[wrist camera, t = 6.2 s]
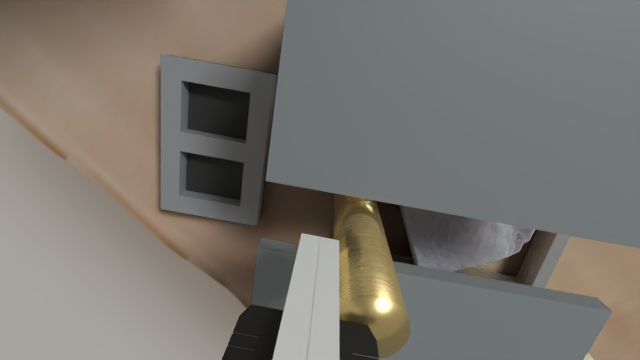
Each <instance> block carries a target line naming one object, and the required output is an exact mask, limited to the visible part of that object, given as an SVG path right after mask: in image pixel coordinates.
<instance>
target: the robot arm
mask: <svg viewBox="0 0 640 360" xmlns="http://www.w3.org/2000/svg"><path fill="white" fill-rule="evenodd" d="M222 360H379V354H378V347H377V340H376V338H375V337H374V335H373V333H372V331H371V330H370V328H369V326H368V325H365V324H359V323H354V322H349V321H344V320H339V240H335V239H330V238H324V237H319V236H314V235H309V234H304V233H301V238H300V242H299V246H298V251H297V255H296V259H295V264H294V268H293V272H292V277H291V281H290V285H289V290H288V294H287V298H286V303H285V307H284V310H280V309H274V308H269V307H264V306H259V305H253V304H251V305H250V306H249V307H248V308H247V309H246V310H245V311H244V312H243V313H242V314H241V315H240V316H239V319H238V321H237V323H236V326H235V328H234V331H233V334H232V336H231V338H230V341H229V343H228V347H227V348H226V351H225V353H224V356H223V358H222Z"/></svg>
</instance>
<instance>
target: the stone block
mask: <svg viewBox="0 0 640 360" xmlns="http://www.w3.org/2000/svg"><path fill="white" fill-rule="evenodd" d="M399 206H400V209H401V213H402V217H403V221H404V225H405V229H406V233H407V237H408V241H409V245H410V249H411V253H412V256H413V259H414V262H415V264H416V265H417V266H422V267H428V268H433V269H439V270H444V271H450V272H453V271H456V270H461V269H466V268H470V267H475V266H480V265H484V264H489V263H493V262H496V261H499V260H501V259H503V258H506V257H509V256H511V255H513V254H516V253H517V252H519V251H521V248H522V246H523V243H526V242H529V240H530V239H531V237H532V235H533V233H534V231H535V230H536V229H530V228H525V227H519V226H514V225H508V224H502V223H497V222H491V221H486V220H480V219H475V218H469V217H463V216H458V215H452V214H447V213H441V212H436V211H430V210H424V209H419V208H413V207H408V206H402V205H399Z"/></svg>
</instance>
